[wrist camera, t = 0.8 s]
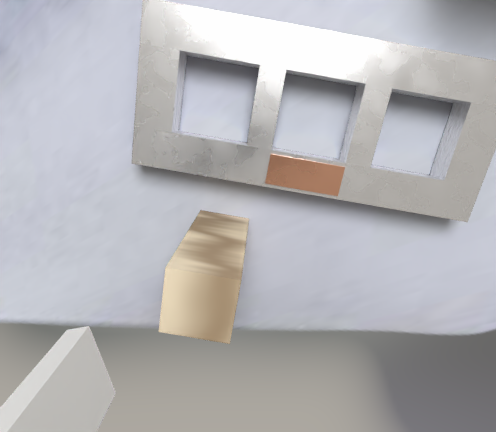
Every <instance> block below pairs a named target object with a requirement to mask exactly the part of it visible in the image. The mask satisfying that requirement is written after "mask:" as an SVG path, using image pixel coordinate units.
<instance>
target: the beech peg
mask: <svg viewBox="0 0 496 432" xmlns="http://www.w3.org/2000/svg"><path fill="white" fill-rule="evenodd" d="M248 222H249V219H248V218H242V217H236V216H231V215H225V214H219V213H213V212H208V211H202V210H201V211H200V212H199V214H198V216H197V217H196V219H195V220H194V222H193V224H192V225H191V227H190V229H189V230H188V232H187V233H186V235H185V237H184V238H183V240H182V242H181V243H180V245H179V246H178V248H177V250H176V251H175V253H174V255H173V256H172V258H171V259H170V261H169V263H168V264H167V266H166V268H165V277H164V287H163V296H162V306H161V315H160V324H159V332H163V333H169V334H175V335H180V336H186V337H192V338H198V339H204V340H210V341H216V342H222V343H227V344H230V339H231V334H232V328H233V323H234V317H235V312H236V306H237V301H238V295H239V290H240V284H241V278H242V270H243V262H244V254H245V246H246V238H247V230H248Z"/></svg>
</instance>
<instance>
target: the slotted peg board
mask: <svg viewBox="0 0 496 432" xmlns="http://www.w3.org/2000/svg"><path fill="white" fill-rule="evenodd" d="M187 56H193V57H199V58H204V59H210V60H215V61H221V62H227V63H232V64H238V65H243V66H249V67H254V68H259V73H258V79H257V85H256V91H255V97H254V103H253V109H252V115H251V121H250V127H249V134H248V140H247V143H246V142H240V141H234V140H229V139H223V138H217V137H212V136H206V135H200V134H195V133H189V132H183V131H179V126H180V117H181V108H182V98H183V89H184V79H185V70H186V60H187ZM286 73H288V74H294V75H299V76H305V77H310V78H316V79H322V80H327V81H333V82H338V83H344V84H349V85H355V86H357V88H356V92H355V96H354V100H353V104H352V108H351V112H350V116H349V120H348V125H347V129H346V133H345V137H344V141H343V145H342V149H341V153H340V157H339V159H336V158H331V157H325V156H319V155H314V154H308V153H302V152H297V151H291V150H285V149H280V148H274V147H272V144H273V139H274V133H275V128H276V123H277V117H278V112H279V107H280V101H281V96H282V91H283V85H284V80H285V75H286ZM391 92H394V93H400V94H405V95H411V96H417V97H422V98H428V99H433V100H439V101H444V102H450V103H453V106H452V109H451V112H450V115H449V118H448V121H447V124H446V127H445V130H444V133H443V136H442V139H441V142H440V145H439V148H438V151H437V154H436V157H435V160H434V163H433V166H432V169H431V172H430V175H427V174H421V173H416V172H410V171H404V170H399V169H393V168H387V167H382V166H376V165H371V163H372V160H373V156H374V153H375V149H376V145H377V142H378V138H379V135H380V131H381V127H382V124H383V120H384V117H385V113H386V109H387V106H388V102H389V99H390V95H391ZM495 149H496V61H494V60H488V59H483V58H477V57H472V56H466V55H460V54H455V53H449V52H444V51H438V50H433V49H427V48H422V47H416V46H411V45H405V44H400V43H394V42H388V41H383V40H377V39H372V38H366V37H361V36H355V35H350V34H344V33H339V32H333V31H328V30H322V29H316V28H311V27H305V26H300V25H294V24H289V23H283V22H278V21H272V20H267V19H261V18H256V17H250V16H244V15H239V14H233V13H228V12H222V11H217V10H211V9H206V8H200V7H195V6H189V5H184V4H178V3H172V2H167V1H161V0H143V2H142V17H141V32H140V47H139V62H138V76H137V91H136V106H135V121H134V136H133V151H132V164H138V165H144V166H150V167H155V168H161V169H167V170H172V171H178V172H184V173H189V174H195V175H201V176H207V177H212V178H218V179H224V180H229V181H235V182H241V183H247V184H252V185H258V186H264V187H269V188H275V189H281V190H287V191H292V192H298V193H304V194H309V195H315V196H321V197H327V198H332V199H338V200H344V201H349V202H355V203H361V204H366V205H372V206H378V207H384V208H389V209H395V210H401V211H406V212H412V213H418V214H424V215H429V216H435V217H441V218H446V219H452V220H458V221H464V222H468V220H469V217H470V214H471V212H472V209H473V207H474V204H475V201H476V199H477V196H478V193H479V191H480V188H481V186H482V183H483V180H484V178H485V175H486V172H487V170H488V167H489V165H490V162H491V159H492V157H493V154H494V152H495Z"/></svg>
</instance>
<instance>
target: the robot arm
mask: <svg viewBox="0 0 496 432" xmlns="http://www.w3.org/2000/svg"><path fill="white" fill-rule="evenodd" d="M115 394H116V392H115V389H114V387H113V384H112V382H111V379H110V377H109V374H108V372H107V369H106V367H105V364H104V362H103V359H102V357H101V354H100V352H99V350H98V347H97V345H96V343H95V340H94V337H93V335H92V332H91V330H90V327H89V326H87V327H81V328H76V329H70V330H67V331H66V332H65V333H64V334H63V335H62V336H61V338H60V339H59V340H58V341H57V342H56V343H55V345H54V346H53V347H52V348H51V349H50V350H49V352H48V353H47V354H46V355H45V356H44V357H43V359H42V360H41V361H40V362H39V363H38V364H37V365H36V367H35V368H34V369H33V370H32V371H31V373H30V374H29V375H28V376H27V377H26V378H25V380H24V381H23V382H22V383H21V384H20V385H19V386H18V388H17V389H16V390H15V391H14V392H13V394H11V396H10V397H9V398H8V399H7V400H6V401H5V403H4V404H3V405H2V406H1V407H0V432H97V430H98V428H99V426H100V424H101V422H102V420H103V418H104V416H105V414H106V412H107V410H108V408H109V406H110V404H111V402H112V400H113V398H114V396H115Z"/></svg>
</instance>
